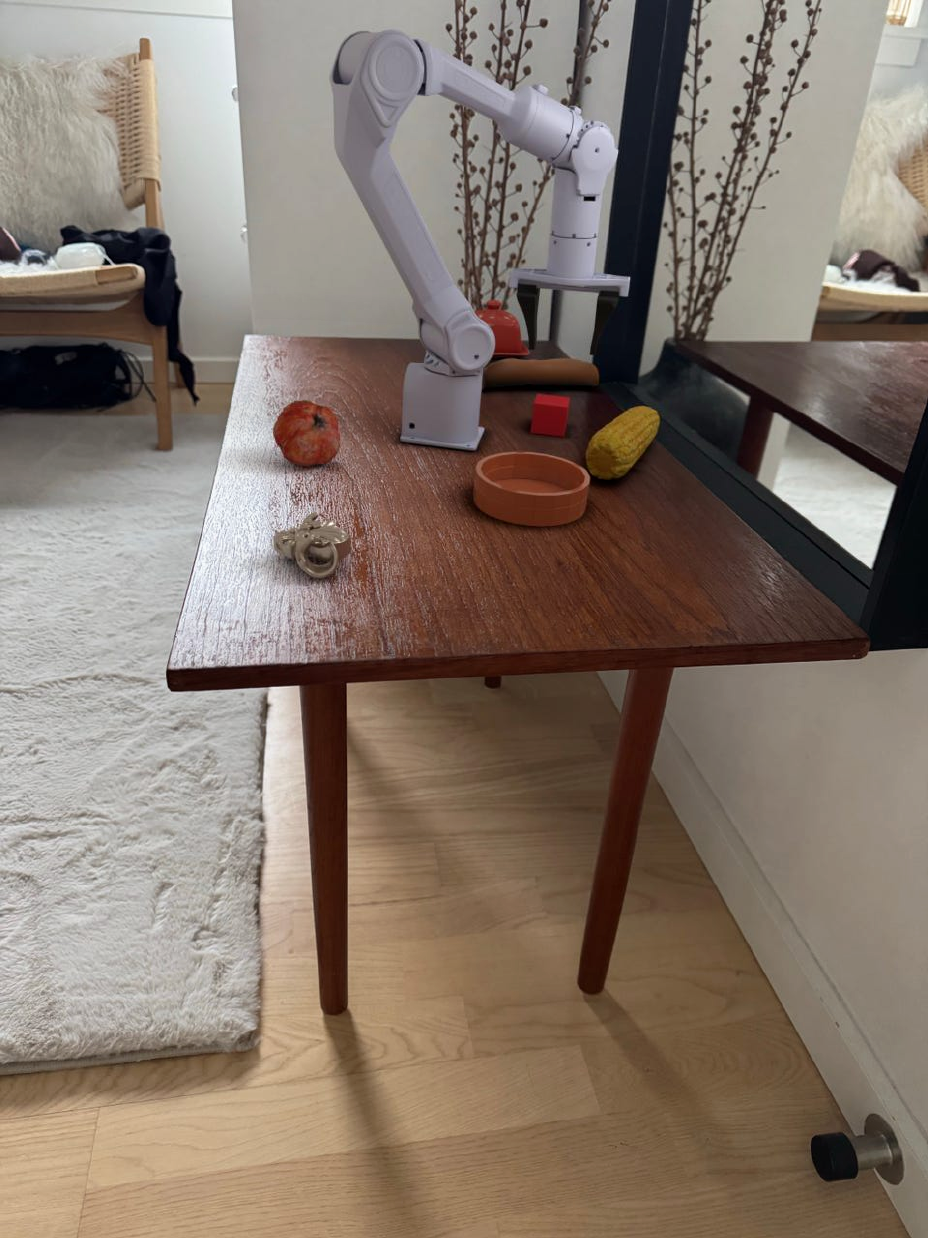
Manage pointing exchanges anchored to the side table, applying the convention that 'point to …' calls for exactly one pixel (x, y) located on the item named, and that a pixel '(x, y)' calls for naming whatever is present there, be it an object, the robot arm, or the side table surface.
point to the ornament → (314, 545)
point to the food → (621, 442)
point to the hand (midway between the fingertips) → (562, 350)
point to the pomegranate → (307, 433)
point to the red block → (550, 415)
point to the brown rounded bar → (540, 373)
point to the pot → (530, 488)
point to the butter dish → (503, 331)
